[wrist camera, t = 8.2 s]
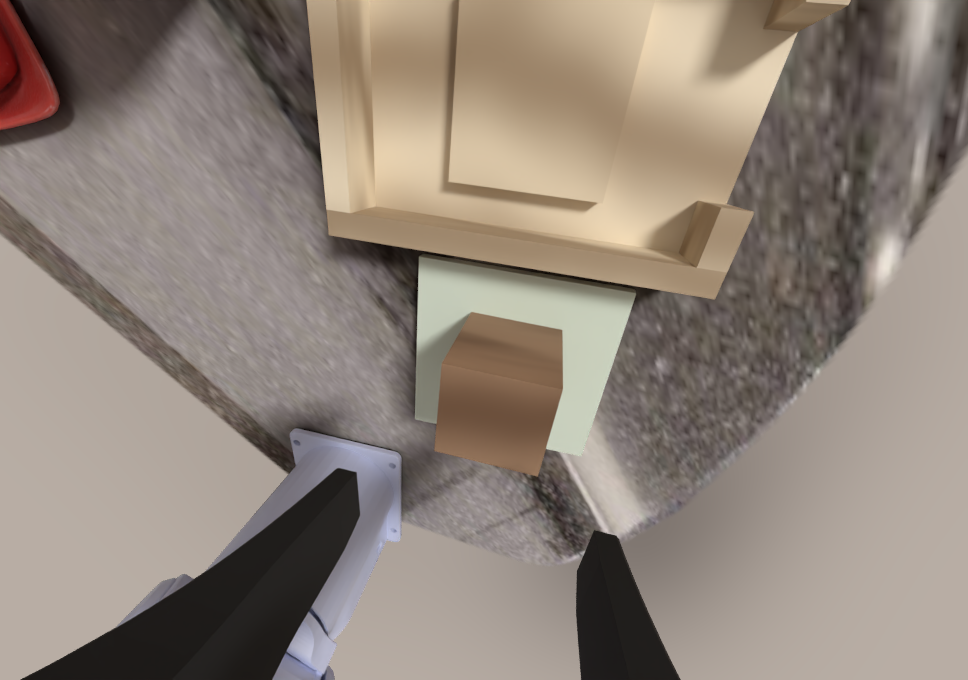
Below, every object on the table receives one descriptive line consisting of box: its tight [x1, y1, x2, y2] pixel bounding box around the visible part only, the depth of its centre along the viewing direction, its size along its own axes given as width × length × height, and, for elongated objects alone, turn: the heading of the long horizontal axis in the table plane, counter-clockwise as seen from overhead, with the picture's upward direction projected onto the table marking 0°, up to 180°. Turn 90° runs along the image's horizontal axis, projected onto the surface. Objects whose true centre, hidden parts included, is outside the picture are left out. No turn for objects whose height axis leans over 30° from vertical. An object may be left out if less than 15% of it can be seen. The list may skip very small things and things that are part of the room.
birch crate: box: [307, 0, 851, 299], centre depth 12 cm, size 11×15×3 cm
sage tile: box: [415, 254, 636, 456], centre depth 19 cm, size 10×10×1 cm
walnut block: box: [434, 312, 563, 476], centre depth 16 cm, size 4×4×5 cm
